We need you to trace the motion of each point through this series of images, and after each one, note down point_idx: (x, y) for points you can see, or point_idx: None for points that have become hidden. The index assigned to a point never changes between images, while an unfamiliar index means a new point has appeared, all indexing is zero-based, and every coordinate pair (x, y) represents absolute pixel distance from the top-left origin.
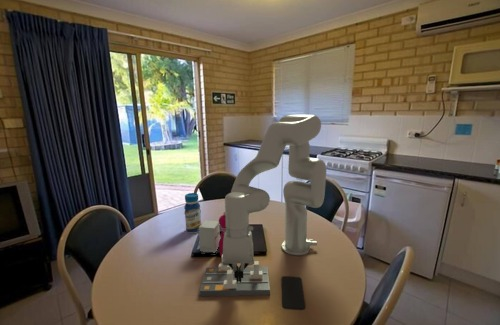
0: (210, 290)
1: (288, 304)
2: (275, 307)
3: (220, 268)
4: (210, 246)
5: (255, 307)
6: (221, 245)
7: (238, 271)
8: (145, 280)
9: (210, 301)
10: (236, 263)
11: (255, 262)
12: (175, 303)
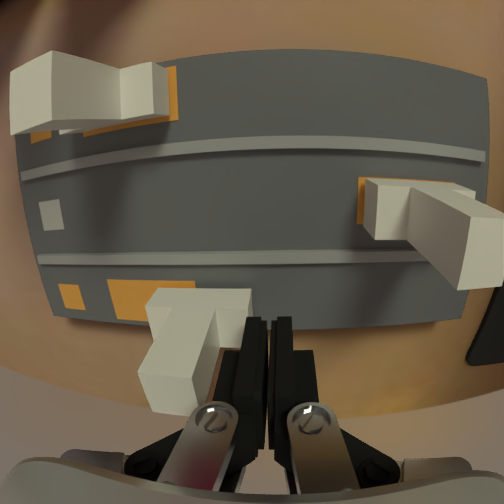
0: (97, 319)
1: (489, 352)
2: (440, 364)
3: (81, 130)
4: None
5: (357, 373)
6: None
7: (263, 420)
8: None
9: (127, 335)
10: (228, 460)
11: (483, 246)
12: (19, 325)
